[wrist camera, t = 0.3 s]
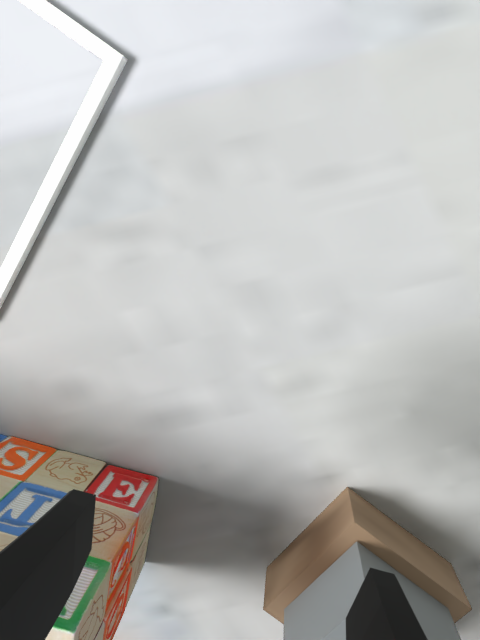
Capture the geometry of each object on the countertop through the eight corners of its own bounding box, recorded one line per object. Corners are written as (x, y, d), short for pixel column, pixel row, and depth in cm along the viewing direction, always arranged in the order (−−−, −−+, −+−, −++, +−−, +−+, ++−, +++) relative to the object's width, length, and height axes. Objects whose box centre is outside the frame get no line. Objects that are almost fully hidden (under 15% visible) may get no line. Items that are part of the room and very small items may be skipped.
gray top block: (370, 670, 21) (382, 744, 18) (284, 609, 20) (282, 673, 17) (448, 608, 19) (475, 677, 16) (356, 541, 19) (368, 598, 16)
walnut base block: (362, 631, 24) (371, 688, 21) (267, 562, 23) (263, 609, 21) (448, 558, 22) (472, 609, 19) (346, 482, 22) (354, 522, 19)
